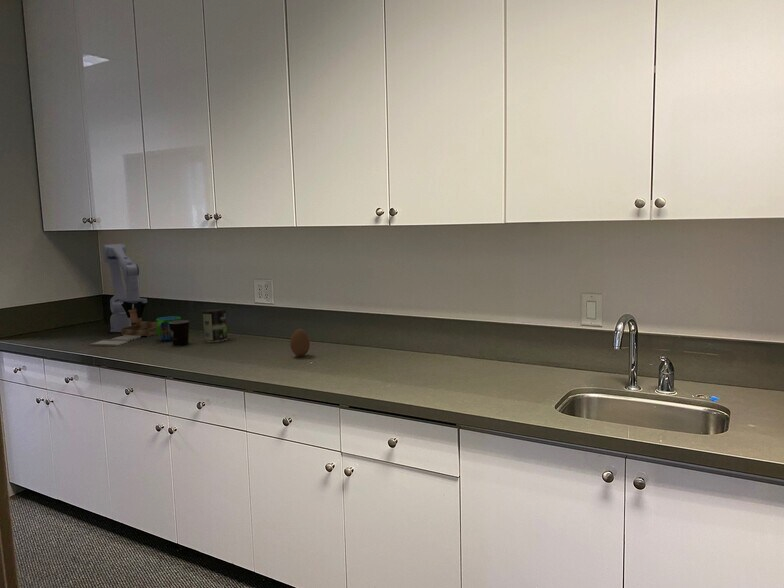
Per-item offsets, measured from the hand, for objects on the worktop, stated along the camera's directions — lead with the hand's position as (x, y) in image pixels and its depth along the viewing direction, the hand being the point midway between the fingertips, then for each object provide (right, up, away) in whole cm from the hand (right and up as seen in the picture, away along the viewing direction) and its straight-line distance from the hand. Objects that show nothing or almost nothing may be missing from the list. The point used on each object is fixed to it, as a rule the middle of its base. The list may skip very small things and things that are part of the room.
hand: (134, 317), depth 294 cm
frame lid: (-5, -11, -16) cm, 20 cm away
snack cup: (+20, -10, -9) cm, 25 cm away
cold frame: (+1, -8, +6) cm, 10 cm away
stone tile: (-2, -10, -6) cm, 12 cm away
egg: (+87, -14, -51) cm, 102 cm away
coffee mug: (+30, -11, -22) cm, 39 cm away
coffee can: (+43, -10, -14) cm, 46 cm away
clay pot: (+1, -2, 0) cm, 2 cm away
